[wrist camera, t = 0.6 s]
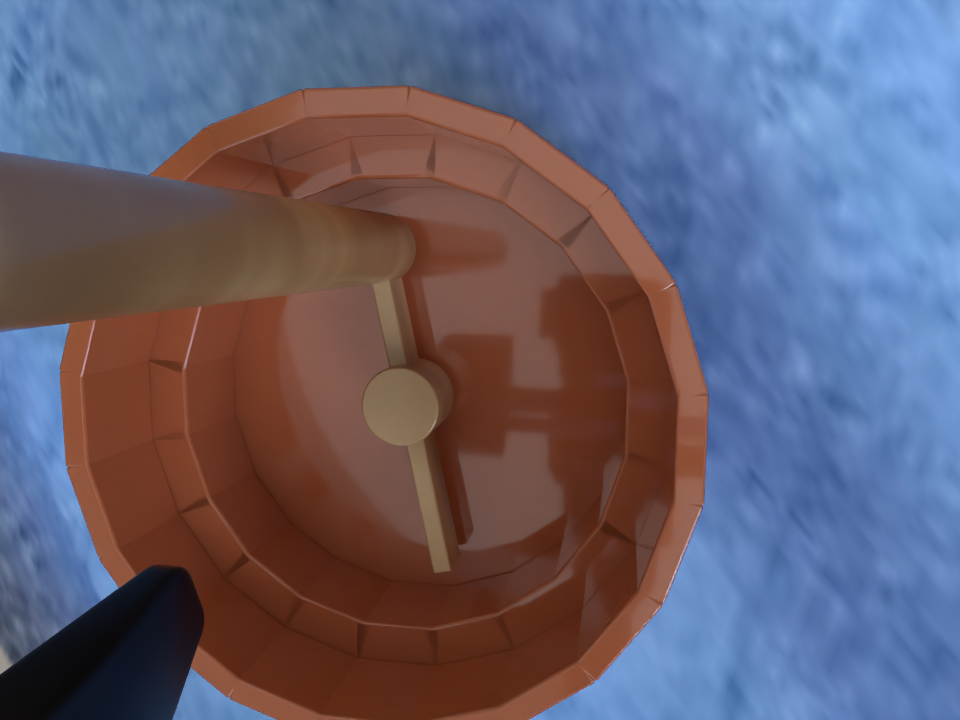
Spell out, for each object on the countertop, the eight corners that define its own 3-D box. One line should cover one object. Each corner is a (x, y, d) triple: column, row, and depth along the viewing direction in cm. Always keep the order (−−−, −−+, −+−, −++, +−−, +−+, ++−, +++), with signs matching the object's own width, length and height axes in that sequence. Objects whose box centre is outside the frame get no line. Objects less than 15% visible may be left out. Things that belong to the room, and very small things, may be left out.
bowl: (582, 696, 23) (567, 847, 17) (151, 520, 25) (5, 602, 19) (765, 224, 20) (822, 214, 15) (269, 66, 22) (141, 0, 16)
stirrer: (487, 551, 22) (180, 1209, 7) (418, 560, 22) (-14, 1200, 7) (415, 206, 21) (-121, 90, 6) (344, 222, 21) (-325, 153, 6)
